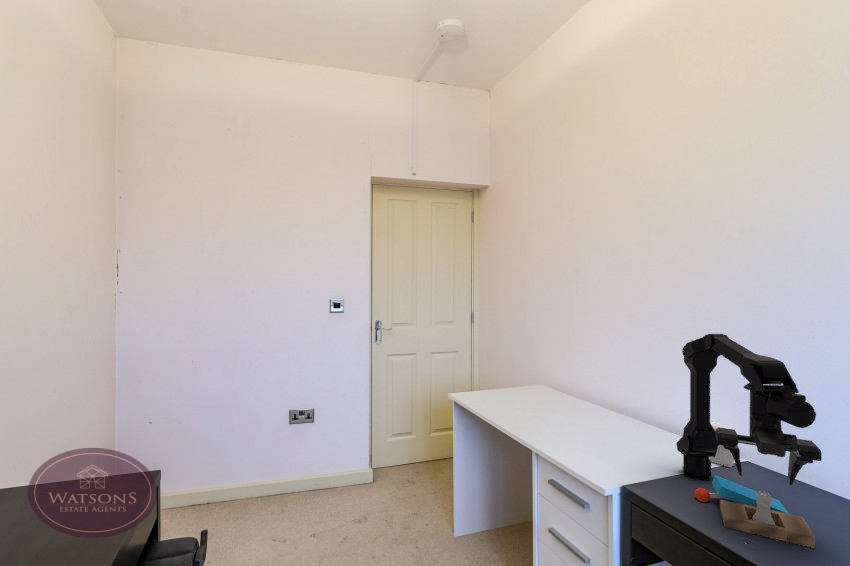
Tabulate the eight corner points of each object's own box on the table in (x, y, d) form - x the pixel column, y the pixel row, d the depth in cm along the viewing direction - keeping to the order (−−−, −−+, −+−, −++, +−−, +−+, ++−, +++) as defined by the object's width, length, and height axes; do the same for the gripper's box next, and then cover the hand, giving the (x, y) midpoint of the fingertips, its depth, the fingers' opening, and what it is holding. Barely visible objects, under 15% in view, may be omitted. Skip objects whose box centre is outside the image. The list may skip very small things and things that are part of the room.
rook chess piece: (779, 534, 96) (780, 499, 96) (757, 531, 97) (757, 496, 97) (769, 523, 100) (769, 489, 100) (747, 520, 101) (747, 487, 101)
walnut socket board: (724, 527, 98) (724, 516, 98) (719, 508, 106) (720, 499, 106) (814, 548, 91) (815, 537, 91) (802, 527, 98) (802, 516, 98)
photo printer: (736, 465, 132) (736, 426, 132) (730, 469, 129) (731, 429, 129) (699, 454, 140) (700, 417, 140) (694, 457, 137) (694, 419, 137)
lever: (769, 524, 108) (690, 491, 115) (779, 500, 107) (699, 468, 114) (779, 540, 101) (695, 503, 108) (789, 514, 101) (704, 479, 108)
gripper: (720, 416, 96) (720, 484, 96) (830, 430, 87) (830, 506, 87) (715, 403, 106) (714, 465, 106) (813, 415, 96) (813, 483, 96)
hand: (764, 479), depth 98 cm, fingers open, 9 cm apart
